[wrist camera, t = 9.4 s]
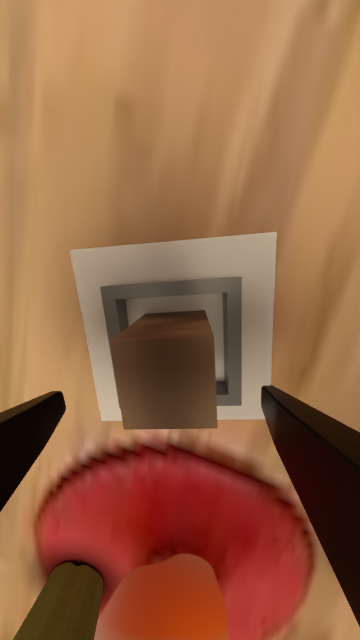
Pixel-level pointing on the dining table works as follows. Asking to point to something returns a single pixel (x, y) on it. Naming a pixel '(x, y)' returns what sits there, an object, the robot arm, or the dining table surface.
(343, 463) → the robot arm
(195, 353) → the walnut peg
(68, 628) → the plant pot
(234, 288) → the socket base
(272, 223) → the dining table surface
